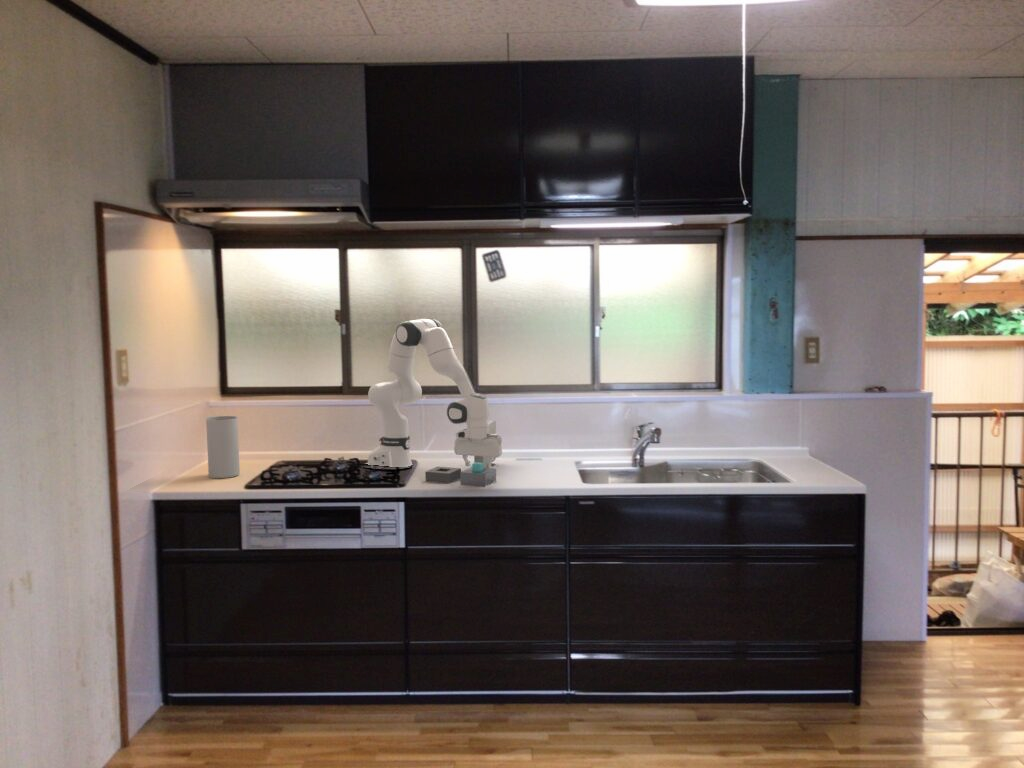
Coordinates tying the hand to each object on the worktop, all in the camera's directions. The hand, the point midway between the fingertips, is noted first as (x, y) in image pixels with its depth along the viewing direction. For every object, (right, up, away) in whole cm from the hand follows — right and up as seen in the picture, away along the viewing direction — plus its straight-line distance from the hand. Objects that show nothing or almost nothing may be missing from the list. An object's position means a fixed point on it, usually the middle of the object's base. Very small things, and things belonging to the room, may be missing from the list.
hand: (478, 466), depth 314 cm
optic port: (0, -7, +1) cm, 7 cm away
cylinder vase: (-110, -6, +16) cm, 111 cm away
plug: (0, -7, +1) cm, 7 cm away
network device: (+2, -4, +28) cm, 28 cm away
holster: (-15, -6, +7) cm, 17 cm away
